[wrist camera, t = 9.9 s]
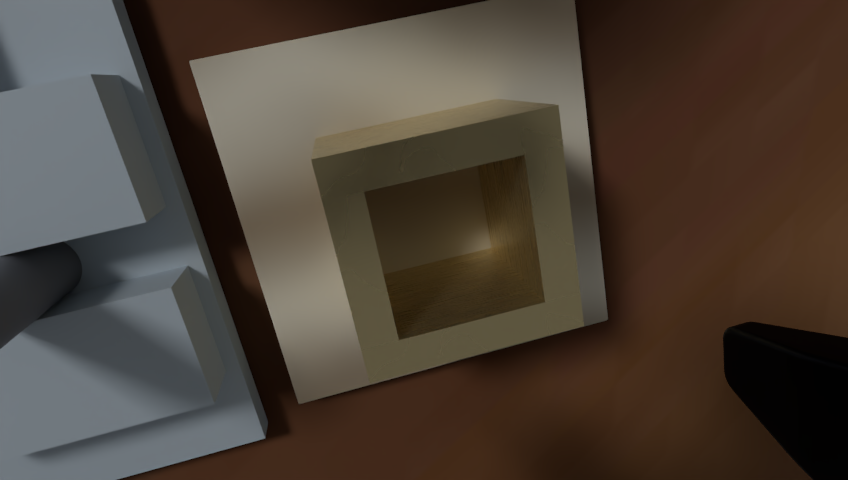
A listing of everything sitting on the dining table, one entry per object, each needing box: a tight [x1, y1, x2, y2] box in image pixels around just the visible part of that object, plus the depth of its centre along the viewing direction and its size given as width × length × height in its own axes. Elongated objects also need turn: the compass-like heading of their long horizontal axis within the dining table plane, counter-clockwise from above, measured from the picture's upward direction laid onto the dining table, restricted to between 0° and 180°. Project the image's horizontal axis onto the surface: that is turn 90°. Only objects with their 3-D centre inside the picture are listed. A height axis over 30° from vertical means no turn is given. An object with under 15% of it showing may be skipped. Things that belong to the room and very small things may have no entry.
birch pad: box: [189, 0, 608, 404], centre depth 19 cm, size 12×12×1 cm
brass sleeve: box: [311, 99, 584, 383], centre depth 16 cm, size 6×6×5 cm
